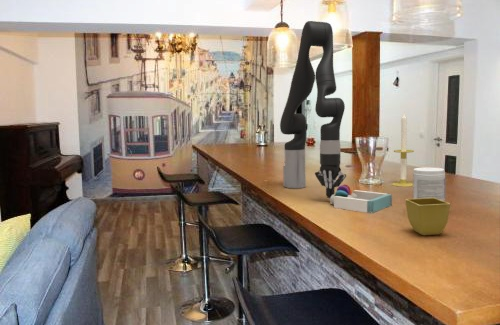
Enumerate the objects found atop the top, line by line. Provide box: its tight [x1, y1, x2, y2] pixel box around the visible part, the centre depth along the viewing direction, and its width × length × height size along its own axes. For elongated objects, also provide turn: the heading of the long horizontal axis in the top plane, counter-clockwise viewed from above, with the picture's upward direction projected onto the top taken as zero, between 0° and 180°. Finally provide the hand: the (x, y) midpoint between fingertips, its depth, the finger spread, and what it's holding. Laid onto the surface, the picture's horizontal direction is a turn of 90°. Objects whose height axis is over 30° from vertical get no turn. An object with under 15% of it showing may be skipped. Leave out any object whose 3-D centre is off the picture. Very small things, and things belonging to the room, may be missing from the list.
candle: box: [391, 112, 415, 188], centre depth 191 cm, size 10×10×32 cm
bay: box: [333, 189, 393, 214], centre depth 153 cm, size 14×15×4 cm
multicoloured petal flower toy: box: [329, 184, 357, 206], centre depth 157 cm, size 8×10×7 cm
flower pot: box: [405, 198, 451, 236], centre depth 119 cm, size 9×9×9 cm
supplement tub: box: [412, 167, 446, 202], centre depth 139 cm, size 10×10×15 cm
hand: (330, 197), depth 162 cm, fingers closed
